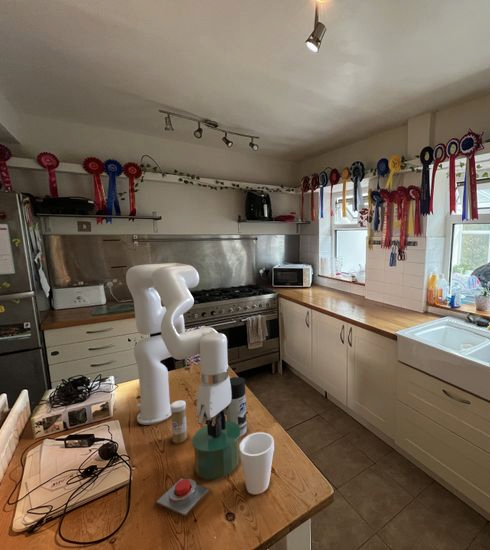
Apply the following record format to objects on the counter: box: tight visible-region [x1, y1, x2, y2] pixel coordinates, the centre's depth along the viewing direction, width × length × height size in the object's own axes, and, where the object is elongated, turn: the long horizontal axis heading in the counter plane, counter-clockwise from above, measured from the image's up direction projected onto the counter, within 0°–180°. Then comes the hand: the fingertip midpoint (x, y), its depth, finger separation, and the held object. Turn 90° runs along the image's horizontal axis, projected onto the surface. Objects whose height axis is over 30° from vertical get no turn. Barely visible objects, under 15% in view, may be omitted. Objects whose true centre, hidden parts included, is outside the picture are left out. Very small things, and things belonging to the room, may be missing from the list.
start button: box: [174, 478, 190, 496], centre depth 78 cm, size 4×4×2 cm
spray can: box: [226, 376, 248, 438], centre depth 103 cm, size 7×7×20 cm
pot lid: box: [191, 414, 241, 453], centre depth 89 cm, size 14×14×7 cm
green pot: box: [193, 437, 240, 480], centre depth 90 cm, size 13×13×10 cm
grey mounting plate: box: [155, 477, 210, 518], centre depth 78 cm, size 10×8×3 cm
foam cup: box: [239, 431, 275, 495], centre depth 82 cm, size 10×9×13 cm
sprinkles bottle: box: [170, 400, 188, 444], centre depth 100 cm, size 5×5×14 cm
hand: (216, 431), depth 89 cm, fingers closed on pot lid, 3 cm apart
